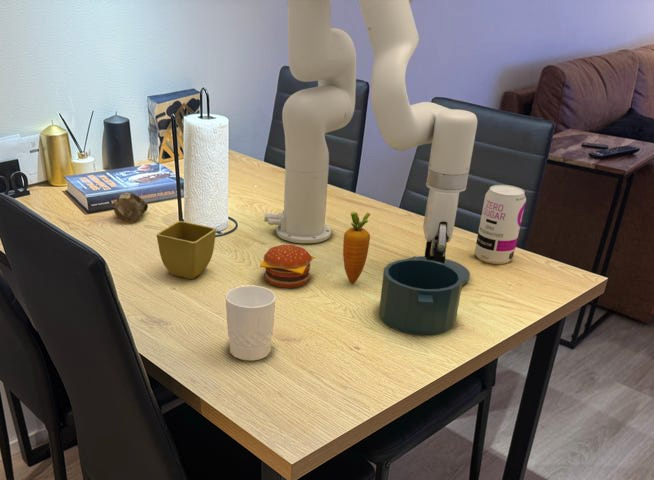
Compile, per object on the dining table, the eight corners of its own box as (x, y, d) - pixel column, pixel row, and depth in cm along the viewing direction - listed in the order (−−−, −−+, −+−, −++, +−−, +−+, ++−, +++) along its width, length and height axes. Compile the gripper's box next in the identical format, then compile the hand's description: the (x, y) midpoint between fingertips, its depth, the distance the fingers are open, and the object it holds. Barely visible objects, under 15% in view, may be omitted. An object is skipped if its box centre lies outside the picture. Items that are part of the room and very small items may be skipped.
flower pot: (218, 269, 141) (217, 227, 136) (196, 286, 134) (194, 242, 129) (180, 261, 144) (179, 220, 139) (157, 277, 137) (155, 234, 132)
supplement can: (513, 253, 152) (528, 186, 144) (511, 267, 145) (527, 198, 137) (475, 248, 154) (488, 182, 146) (472, 261, 147) (485, 193, 140)
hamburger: (315, 272, 141) (317, 242, 137) (302, 292, 133) (304, 260, 129) (271, 265, 143) (272, 235, 139) (256, 284, 135) (257, 253, 132)
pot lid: (397, 288, 135) (401, 259, 132) (395, 259, 148) (399, 232, 145) (473, 293, 134) (478, 265, 131) (464, 264, 146) (469, 237, 143)
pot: (379, 339, 118) (384, 294, 113) (378, 291, 134) (383, 250, 129) (459, 346, 117) (468, 301, 112) (449, 296, 133) (457, 255, 128)
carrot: (364, 279, 138) (372, 207, 131) (365, 290, 134) (373, 216, 126) (340, 277, 139) (346, 205, 131) (339, 288, 135) (345, 214, 127)
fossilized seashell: (126, 198, 170) (101, 216, 163) (133, 178, 165) (109, 197, 158) (150, 216, 170) (127, 236, 163) (158, 198, 165) (135, 217, 158)
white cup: (225, 339, 117) (224, 285, 111) (271, 338, 117) (273, 284, 112) (226, 363, 110) (226, 307, 105) (275, 362, 110) (277, 307, 105)
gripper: (424, 165, 138) (412, 249, 148) (430, 192, 124) (416, 283, 133) (462, 167, 137) (448, 251, 147) (472, 194, 123) (456, 286, 132)
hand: (433, 266), depth 140 cm, fingers open, 6 cm apart
